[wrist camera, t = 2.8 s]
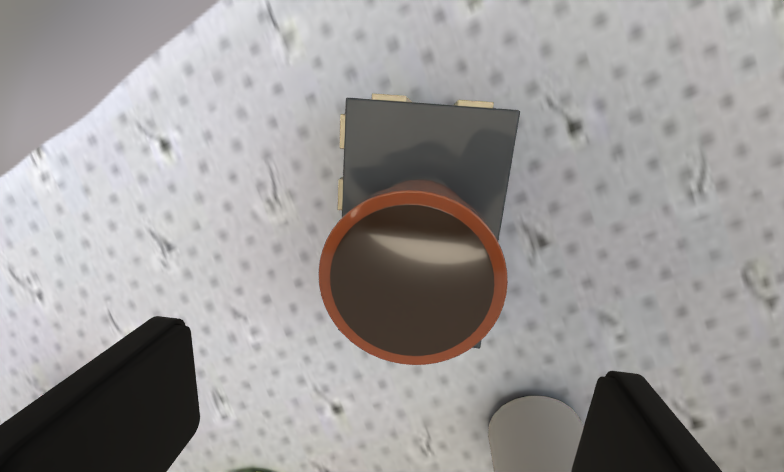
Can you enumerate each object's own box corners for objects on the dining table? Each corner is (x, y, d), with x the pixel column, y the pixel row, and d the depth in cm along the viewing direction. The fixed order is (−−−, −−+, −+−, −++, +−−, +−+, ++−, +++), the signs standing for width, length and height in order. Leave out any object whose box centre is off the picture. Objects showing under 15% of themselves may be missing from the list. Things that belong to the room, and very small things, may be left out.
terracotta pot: (494, 174, 20) (524, 201, 13) (474, 299, 22) (491, 377, 15) (357, 162, 20) (319, 181, 14) (352, 285, 22) (316, 354, 16)
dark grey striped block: (501, 108, 24) (521, 104, 19) (471, 304, 28) (480, 349, 23) (362, 98, 25) (340, 90, 19) (353, 289, 29) (332, 330, 24)
